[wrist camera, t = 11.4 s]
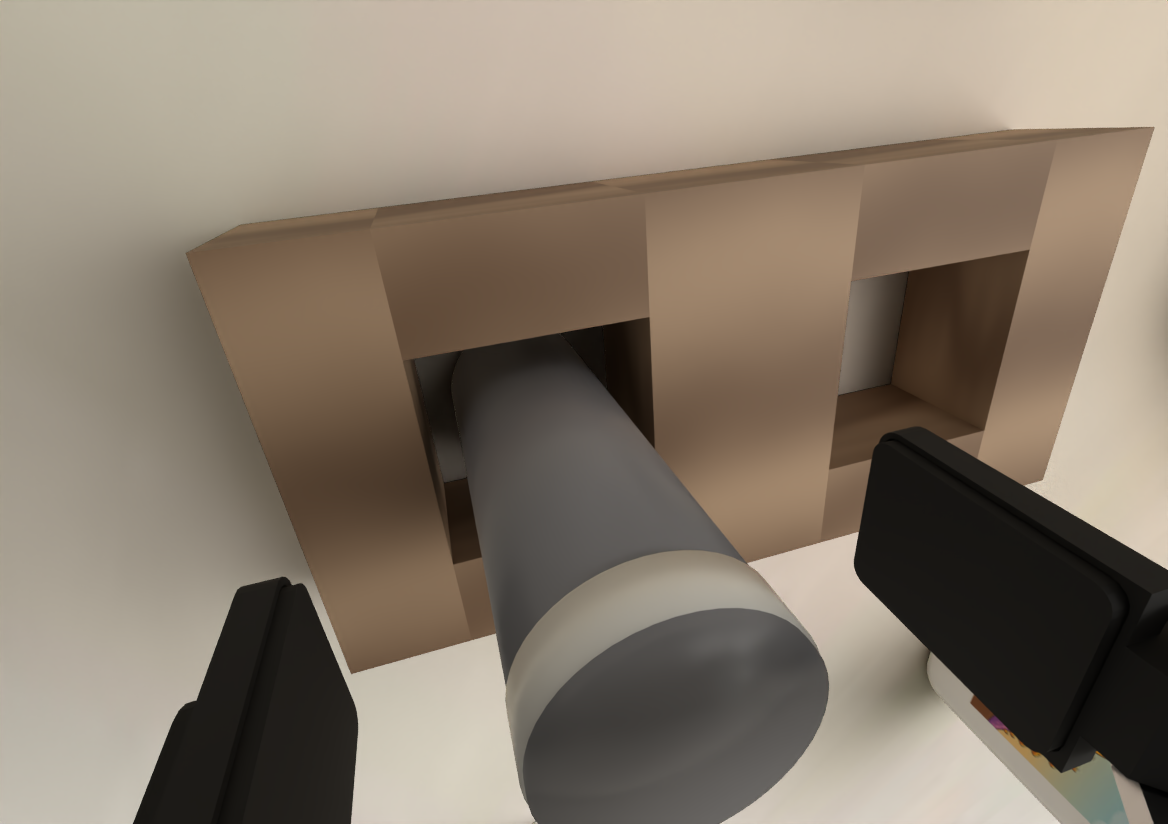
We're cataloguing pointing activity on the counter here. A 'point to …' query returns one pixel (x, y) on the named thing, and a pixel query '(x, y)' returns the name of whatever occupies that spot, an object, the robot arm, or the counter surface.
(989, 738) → the milk bottle
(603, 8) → the counter surface
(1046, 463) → the socket block
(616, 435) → the grey rounded cylinder
